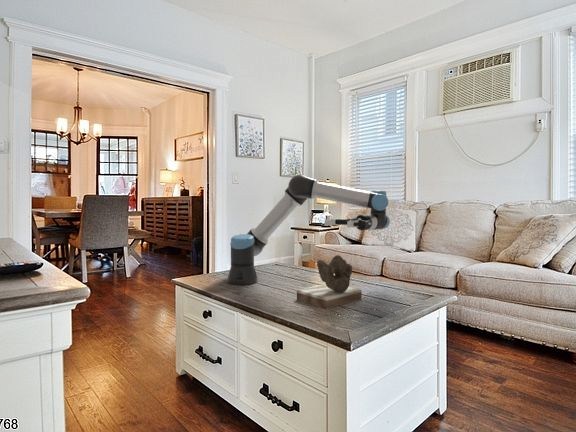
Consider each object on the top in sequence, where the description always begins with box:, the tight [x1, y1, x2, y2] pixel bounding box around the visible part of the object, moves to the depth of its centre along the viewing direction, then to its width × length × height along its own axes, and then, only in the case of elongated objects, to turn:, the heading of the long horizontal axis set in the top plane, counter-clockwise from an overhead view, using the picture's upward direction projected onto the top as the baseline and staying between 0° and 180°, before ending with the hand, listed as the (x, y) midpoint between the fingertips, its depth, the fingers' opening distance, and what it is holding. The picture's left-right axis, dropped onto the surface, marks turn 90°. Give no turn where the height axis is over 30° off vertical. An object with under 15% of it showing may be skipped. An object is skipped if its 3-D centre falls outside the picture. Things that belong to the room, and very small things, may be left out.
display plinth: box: [296, 283, 362, 309], centre depth 152 cm, size 17×21×4 cm
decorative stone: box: [316, 254, 353, 293], centre depth 149 cm, size 16×11×15 cm
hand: (336, 223), depth 163 cm, fingers open, 13 cm apart
